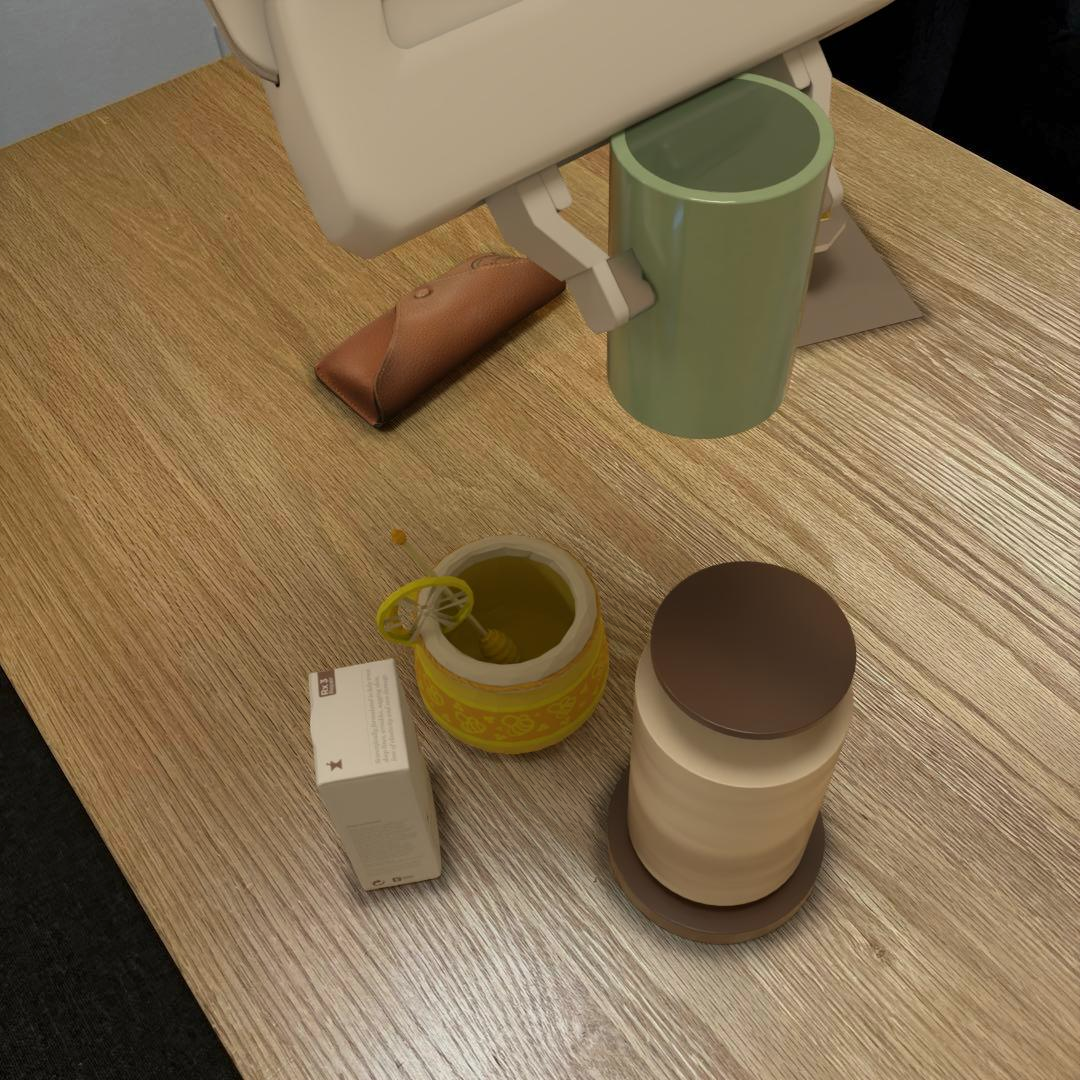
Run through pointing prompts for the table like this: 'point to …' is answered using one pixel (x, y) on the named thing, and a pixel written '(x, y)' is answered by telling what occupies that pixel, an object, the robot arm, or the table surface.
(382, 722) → the cosmetic box
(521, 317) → the sunglasses case
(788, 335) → the cup
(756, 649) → the holder
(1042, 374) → the table surface
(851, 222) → the platform
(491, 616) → the honey pot with dipper
